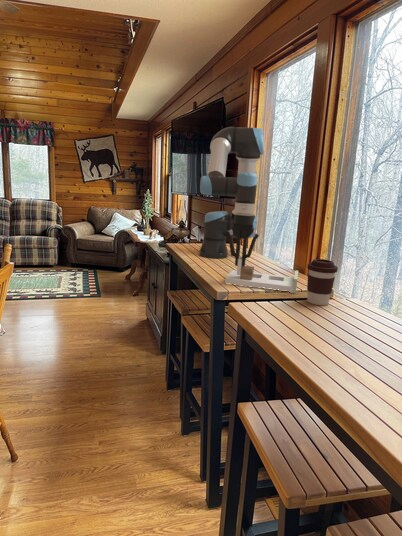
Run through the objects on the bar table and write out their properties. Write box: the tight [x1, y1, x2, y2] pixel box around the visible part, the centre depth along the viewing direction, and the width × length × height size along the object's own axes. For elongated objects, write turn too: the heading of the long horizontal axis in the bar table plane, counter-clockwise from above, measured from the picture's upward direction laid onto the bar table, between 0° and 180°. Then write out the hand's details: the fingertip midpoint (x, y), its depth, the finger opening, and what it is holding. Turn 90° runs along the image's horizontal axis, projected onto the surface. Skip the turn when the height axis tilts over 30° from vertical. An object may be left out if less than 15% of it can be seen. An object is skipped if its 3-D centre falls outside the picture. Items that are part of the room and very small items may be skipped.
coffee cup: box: [306, 258, 338, 306], centre depth 134 cm, size 10×10×15 cm
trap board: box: [224, 269, 299, 294], centre depth 154 cm, size 15×27×5 cm, turn 75°
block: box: [240, 265, 255, 280], centre depth 152 cm, size 4×4×4 cm
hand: (239, 274), depth 152 cm, fingers closed
